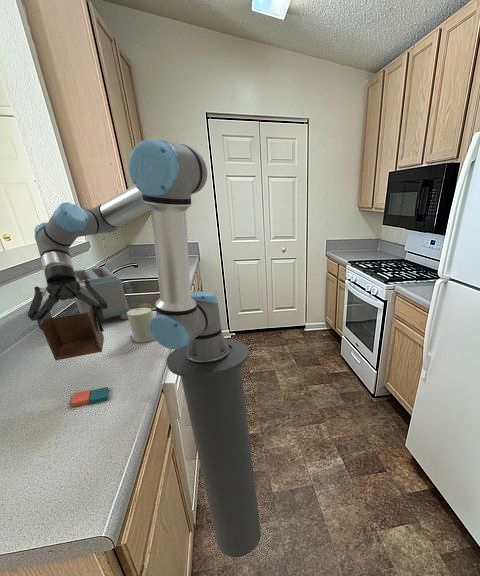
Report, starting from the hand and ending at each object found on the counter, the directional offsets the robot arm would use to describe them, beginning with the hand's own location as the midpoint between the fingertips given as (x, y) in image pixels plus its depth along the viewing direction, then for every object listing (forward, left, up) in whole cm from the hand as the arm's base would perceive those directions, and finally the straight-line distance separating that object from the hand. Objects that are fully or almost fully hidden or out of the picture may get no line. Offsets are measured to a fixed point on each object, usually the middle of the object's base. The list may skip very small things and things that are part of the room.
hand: (76, 334), depth 95 cm
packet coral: (+2, +7, -16) cm, 18 cm away
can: (-13, -35, -18) cm, 41 cm away
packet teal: (-3, +7, -16) cm, 18 cm away
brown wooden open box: (0, -1, -5) cm, 5 cm away
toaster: (+10, -75, -18) cm, 78 cm away
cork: (-14, -46, -18) cm, 51 cm away
